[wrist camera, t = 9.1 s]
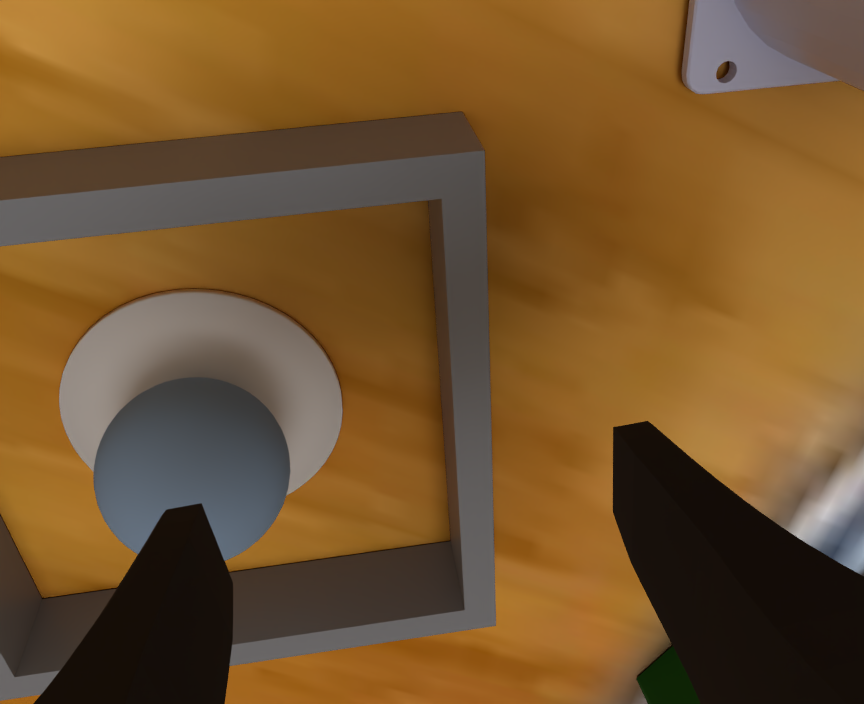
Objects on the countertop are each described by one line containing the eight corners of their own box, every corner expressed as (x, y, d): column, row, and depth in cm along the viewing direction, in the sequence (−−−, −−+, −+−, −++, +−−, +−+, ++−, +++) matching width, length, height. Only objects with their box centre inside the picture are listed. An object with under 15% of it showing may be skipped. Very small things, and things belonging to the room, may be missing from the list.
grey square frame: (462, 111, 20) (484, 150, 17) (479, 556, 28) (495, 625, 26) (-215, 178, 18) (-298, 231, 16) (21, 622, 27) (-8, 701, 25)
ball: (268, 326, 22) (259, 441, 18) (308, 460, 25) (309, 586, 20) (87, 360, 22) (36, 485, 17) (148, 492, 24) (117, 626, 20)
